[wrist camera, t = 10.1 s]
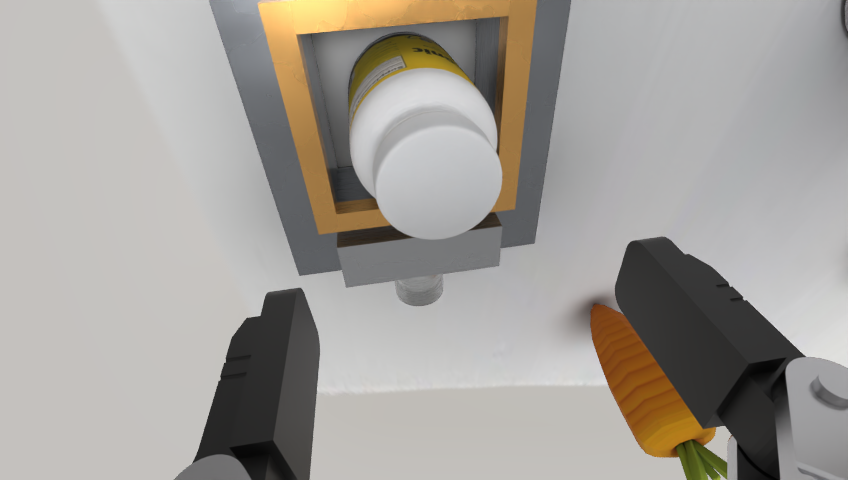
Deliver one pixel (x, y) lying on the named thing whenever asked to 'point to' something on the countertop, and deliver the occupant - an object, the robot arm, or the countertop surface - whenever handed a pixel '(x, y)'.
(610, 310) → the carrot
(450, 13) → the grey drawer
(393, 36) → the supplement bottle
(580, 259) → the countertop surface
